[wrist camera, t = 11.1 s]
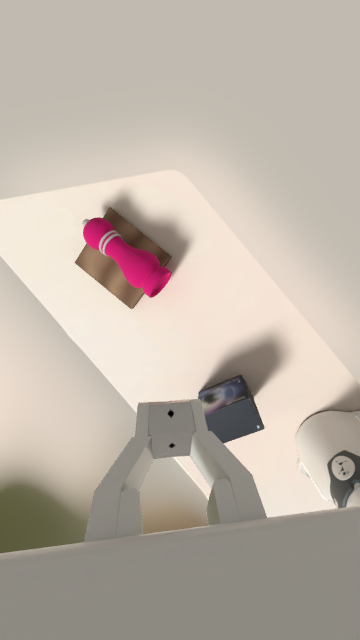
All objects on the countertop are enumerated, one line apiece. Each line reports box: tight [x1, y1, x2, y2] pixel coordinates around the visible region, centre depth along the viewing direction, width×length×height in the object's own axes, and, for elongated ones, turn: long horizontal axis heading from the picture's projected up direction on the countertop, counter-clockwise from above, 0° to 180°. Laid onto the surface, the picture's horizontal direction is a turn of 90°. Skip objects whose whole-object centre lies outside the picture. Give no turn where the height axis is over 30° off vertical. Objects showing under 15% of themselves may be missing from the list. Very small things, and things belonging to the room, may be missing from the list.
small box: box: [198, 375, 264, 443], centre depth 41 cm, size 11×6×10 cm, turn 118°
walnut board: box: [75, 207, 171, 309], centre depth 44 cm, size 16×14×2 cm
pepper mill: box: [83, 218, 171, 298], centre depth 40 cm, size 7×7×20 cm
